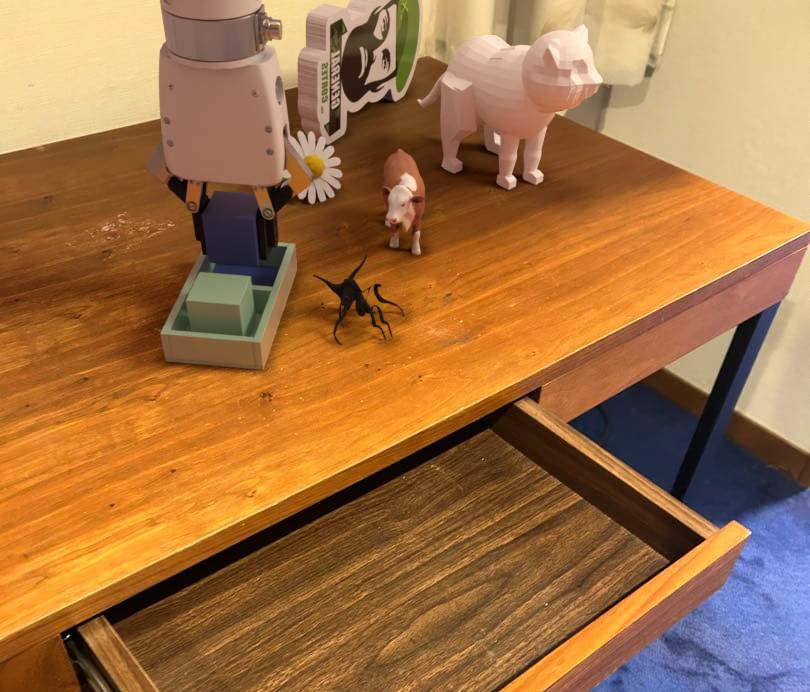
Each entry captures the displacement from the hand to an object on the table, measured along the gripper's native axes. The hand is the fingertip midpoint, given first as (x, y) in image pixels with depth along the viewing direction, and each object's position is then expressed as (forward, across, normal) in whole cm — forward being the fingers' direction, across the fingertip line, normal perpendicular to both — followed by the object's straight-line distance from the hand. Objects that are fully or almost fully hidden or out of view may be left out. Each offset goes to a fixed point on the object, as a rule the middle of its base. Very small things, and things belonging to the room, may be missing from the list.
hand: (238, 248), depth 79 cm
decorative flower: (+5, +1, -20) cm, 21 cm away
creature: (+5, -12, +4) cm, 14 cm away
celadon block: (+4, 0, +8) cm, 9 cm away
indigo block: (0, 0, 0) cm, 0 cm away
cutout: (+5, -6, -43) cm, 44 cm away
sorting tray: (+5, 0, +4) cm, 6 cm away
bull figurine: (+5, -14, -12) cm, 19 cm away
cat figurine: (+5, -23, -30) cm, 38 cm away
